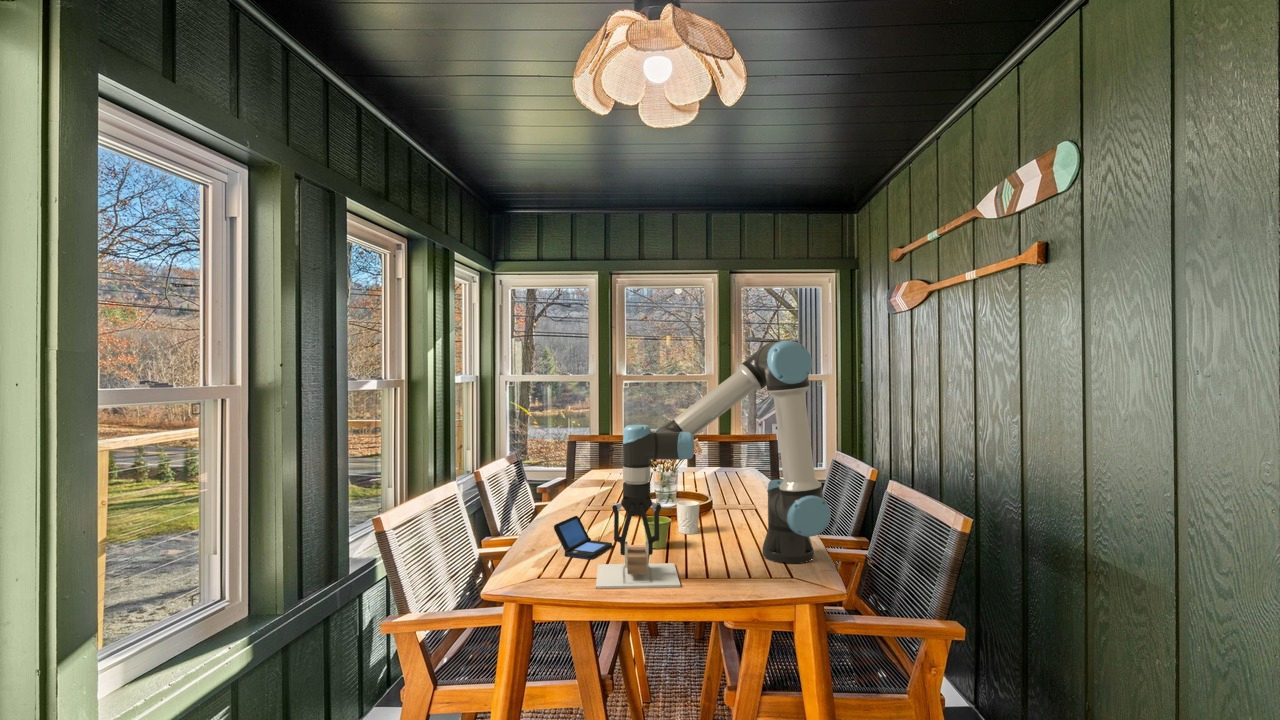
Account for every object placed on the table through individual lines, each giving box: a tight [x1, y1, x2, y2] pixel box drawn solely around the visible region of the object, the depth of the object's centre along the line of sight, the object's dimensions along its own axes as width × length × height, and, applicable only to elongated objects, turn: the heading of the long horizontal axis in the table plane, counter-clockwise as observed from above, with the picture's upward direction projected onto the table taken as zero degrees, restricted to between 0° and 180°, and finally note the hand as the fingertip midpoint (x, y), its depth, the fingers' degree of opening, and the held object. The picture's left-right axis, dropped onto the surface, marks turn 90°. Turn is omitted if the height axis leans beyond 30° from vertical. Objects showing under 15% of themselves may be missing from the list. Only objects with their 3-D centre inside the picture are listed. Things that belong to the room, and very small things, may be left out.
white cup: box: [676, 500, 700, 535], centre depth 221 cm, size 8×8×10 cm
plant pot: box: [641, 515, 672, 550], centre depth 203 cm, size 9×9×9 cm
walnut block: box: [627, 544, 647, 574], centre depth 175 cm, size 11×5×4 cm, turn 2°
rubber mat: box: [595, 562, 681, 589], centre depth 175 cm, size 22×18×1 cm
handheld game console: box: [553, 515, 613, 560], centre depth 199 cm, size 16×13×9 cm
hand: (636, 566), depth 175 cm, fingers closed on walnut block, 5 cm apart
